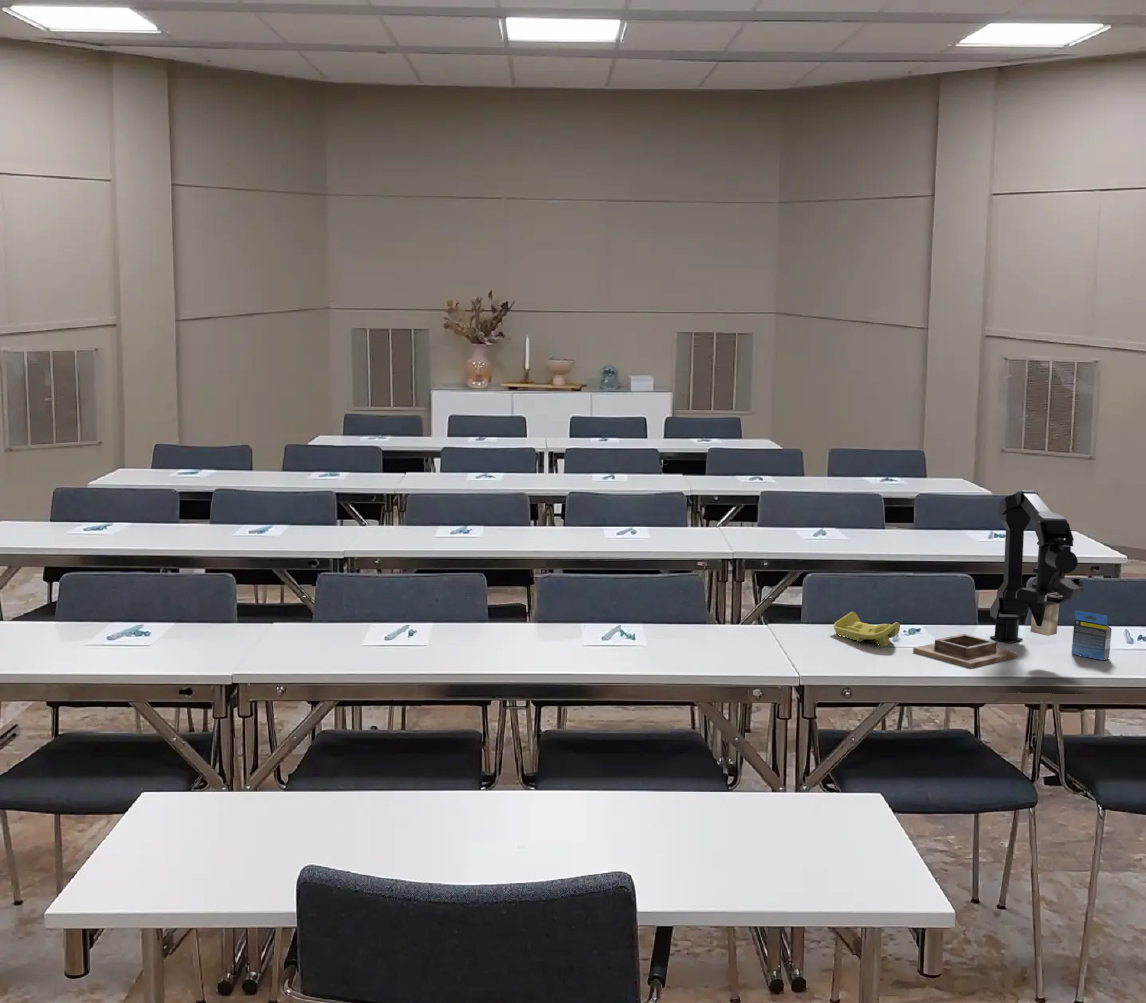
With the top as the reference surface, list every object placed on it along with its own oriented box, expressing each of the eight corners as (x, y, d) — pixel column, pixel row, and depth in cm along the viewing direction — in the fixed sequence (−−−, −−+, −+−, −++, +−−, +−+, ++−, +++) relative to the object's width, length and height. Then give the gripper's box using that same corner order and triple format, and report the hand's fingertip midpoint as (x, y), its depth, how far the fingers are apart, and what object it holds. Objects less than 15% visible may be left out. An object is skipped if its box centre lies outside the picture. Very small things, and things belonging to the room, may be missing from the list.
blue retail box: (1109, 659, 339) (1114, 613, 337) (1103, 661, 336) (1108, 615, 335) (1076, 652, 345) (1080, 607, 344) (1070, 654, 343) (1074, 609, 341)
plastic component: (829, 626, 357) (856, 608, 361) (838, 648, 359) (865, 630, 363) (874, 637, 339) (902, 619, 343) (884, 661, 341) (911, 642, 345)
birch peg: (1039, 629, 334) (1041, 599, 333) (1056, 634, 330) (1059, 603, 329) (1030, 631, 332) (1032, 601, 331) (1047, 635, 328) (1050, 605, 327)
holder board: (959, 642, 352) (960, 629, 352) (1017, 657, 338) (1018, 643, 338) (913, 652, 340) (914, 638, 340) (970, 668, 326) (971, 653, 326)
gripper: (1056, 574, 317) (1051, 636, 319) (1098, 567, 328) (1093, 627, 330) (1016, 566, 326) (1012, 626, 328) (1059, 560, 337) (1054, 618, 339)
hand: (1044, 625), depth 331 cm, fingers closed on birch peg, 4 cm apart
